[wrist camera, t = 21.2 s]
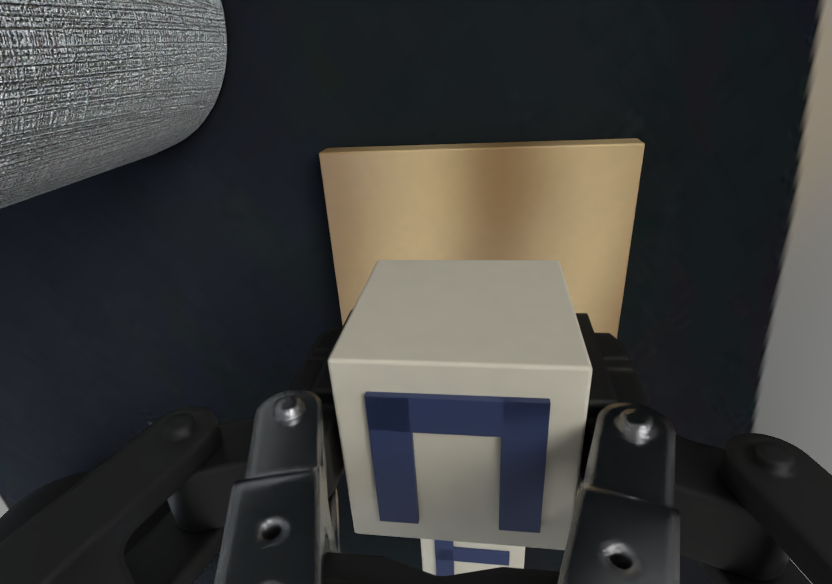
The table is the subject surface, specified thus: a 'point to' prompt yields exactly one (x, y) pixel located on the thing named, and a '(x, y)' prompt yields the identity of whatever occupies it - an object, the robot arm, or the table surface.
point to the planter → (101, 85)
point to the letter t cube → (467, 556)
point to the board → (488, 211)
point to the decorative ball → (52, 491)
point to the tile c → (463, 402)
